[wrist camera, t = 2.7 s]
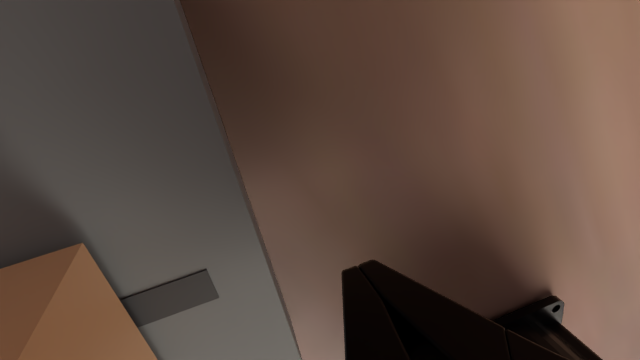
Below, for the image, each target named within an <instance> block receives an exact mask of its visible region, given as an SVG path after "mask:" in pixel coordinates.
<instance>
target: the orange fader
mask: <svg viewBox="0 0 640 360" xmlns="http://www.w3.org/2000/svg"><path fill="white" fill-rule="evenodd" d="M0 360H158V359H157V358H156V356H155V355H154V353H153V352H152V350H151V349H150V347H149V345H148V344H147V342H146V341H145V339H144V338H143V336H142V334H141V333H140V331H139V330H138V328H137V327H136V325H135V323H134V322H133V320H132V319H131V317H130V316H129V314H128V313H127V311H126V309H125V308H124V306H123V305H122V303H121V302H120V300H119V298H118V297H117V295H116V294H115V292H114V291H113V289H112V288H111V286H110V284H109V283H108V281H107V280H106V278H105V277H104V275H103V273H102V272H101V270H100V269H99V267H98V266H97V264H96V263H95V261H94V259H93V258H92V256H91V255H90V253H89V252H88V250H87V248H86V247H85V245H84V244H83V243H80V244H77V245H74V246H70V247H67V248H64V249H61V250H58V251H55V252H52V253H48V254H45V255H42V256H39V257H36V258H33V259H30V260H26V261H23V262H20V263H17V264H14V265H11V266H8V267H4V268H1V269H0Z"/></svg>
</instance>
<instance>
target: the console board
mask: <svg viewBox="0 0 640 360" xmlns="http://www.w3.org/2000/svg"><path fill="white" fill-rule="evenodd" d="M80 243H83V244H84V245H85V247H86V248H87V250H88V252H89V253H90V255H91V256H92V258H93V259H94V261H95V263H96V264H97V266H98V267H99V269H100V270H101V272H102V273H103V275H104V277H105V278H106V280H107V281H108V283H109V284H110V286H111V288H112V289H113V291H114V292H115V294H116V295H117V297H118V298H119V300H120V302H121V303H122V305H123V306H124V308H125V309H126V311H127V313H128V314H129V316H130V317H131V319H132V320H133V322H134V323H135V325H136V327H137V328H138V330H139V331H140V333H141V334H142V336H143V338H144V339H145V341H146V342H147V344H148V345H149V347H150V349H151V350H152V352H153V353H154V355H155V356H156V358H157V359H158V360H302V357H301V354H300V350H299V347H298V343H297V340H296V336H295V333H294V329H293V326H292V322H291V319H290V316H289V314H288V311H287V308H286V305H285V302H284V299H283V296H282V293H281V291H280V288H279V285H278V282H277V279H276V276H275V273H274V270H273V267H272V265H271V262H270V259H269V256H268V253H267V250H266V247H265V244H264V242H263V239H262V236H261V233H260V230H259V227H258V224H257V221H256V219H255V216H254V213H253V210H252V207H251V204H250V201H249V198H248V195H247V193H246V190H245V187H244V184H243V181H242V178H241V175H240V172H239V170H238V167H237V164H236V161H235V158H234V155H233V152H232V149H231V146H230V144H229V141H228V138H227V135H226V132H225V129H224V126H223V123H222V121H221V118H220V115H219V112H218V109H217V106H216V103H215V100H214V98H213V95H212V92H211V89H210V86H209V83H208V80H207V77H206V74H205V72H204V69H203V66H202V63H201V60H200V57H199V54H198V51H197V49H196V46H195V43H194V40H193V37H192V34H191V31H190V28H189V26H188V23H187V20H186V17H185V14H184V11H183V8H182V5H181V2H180V0H0V269H1V268H4V267H8V266H11V265H14V264H17V263H20V262H23V261H26V260H30V259H33V258H36V257H39V256H42V255H45V254H48V253H52V252H55V251H58V250H61V249H64V248H67V247H70V246H74V245H77V244H80Z"/></svg>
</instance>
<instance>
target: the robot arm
mask: <svg viewBox="0 0 640 360" xmlns="http://www.w3.org/2000/svg"><path fill="white" fill-rule="evenodd" d="M342 296H343V319H344V342H345V360H602V359H601V358H600V357H599V356H598V355H597V354H595V353H594V352H593V351H592V350H591V349H590V348H588V347H587V346H586V345H585V344H584V343H583V342H581V341H580V340H579V339H578V338H577V337H576V336H574V335H573V334H572V333H571V332H570V331H568V330H567V329H566V328H565V327H564V326H563V325H561V323H562V316H563V310H564V302H563V301H562V300H560V299H559V298H558V297H556V296H550V297H548V298H545V299H543V300H541V301H538V302H536V303H534V304H532V305H529V306H527V307H525V308H522V309H520V310H518V311H515V312H513V313H511V314H508V315H506V316H504V317H501V318H499V319H497V320H494V321H491V320H489V319H487V318H485V317H483V316H481V315H479V314H477V313H475V312H474V311H472V310H470V309H468V308H466V307H464V306H462V305H460V304H458V303H456V302H454V301H452V300H451V299H449V298H447V297H445V296H443V295H441V294H439V293H437V292H435V291H433V290H431V289H429V288H428V287H426V286H424V285H422V284H420V283H418V282H416V281H414V280H412V279H410V278H408V277H406V276H405V275H403V274H401V273H399V272H397V271H395V270H393V269H391V268H389V267H387V266H385V265H383V264H382V263H380V262H378V261H376V260H370V261H367V262H364V263H361V264H359V266H358V267H357V266H353V267H351V268H348V269H345V270H343V271H342Z"/></svg>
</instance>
